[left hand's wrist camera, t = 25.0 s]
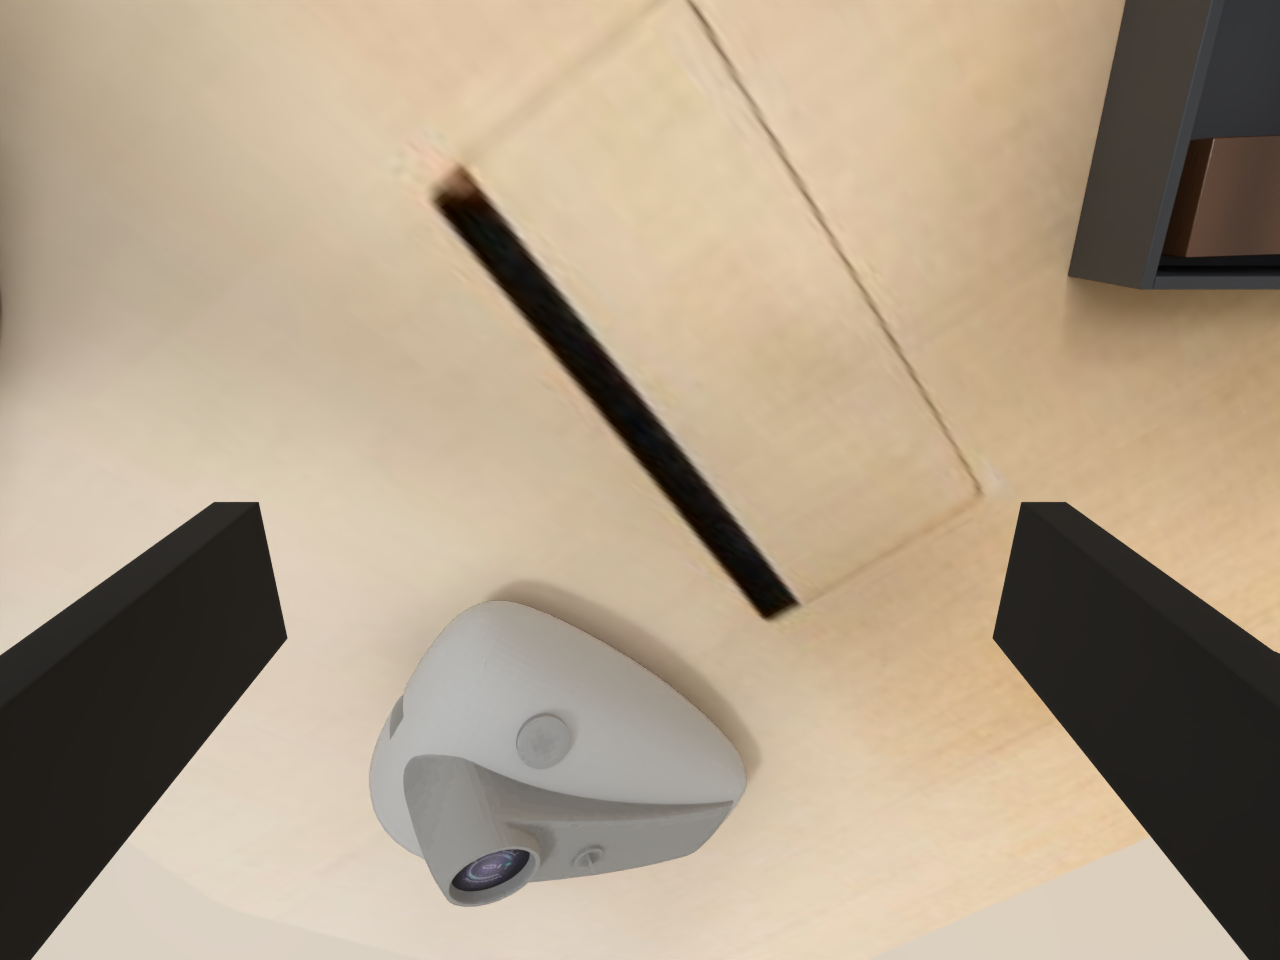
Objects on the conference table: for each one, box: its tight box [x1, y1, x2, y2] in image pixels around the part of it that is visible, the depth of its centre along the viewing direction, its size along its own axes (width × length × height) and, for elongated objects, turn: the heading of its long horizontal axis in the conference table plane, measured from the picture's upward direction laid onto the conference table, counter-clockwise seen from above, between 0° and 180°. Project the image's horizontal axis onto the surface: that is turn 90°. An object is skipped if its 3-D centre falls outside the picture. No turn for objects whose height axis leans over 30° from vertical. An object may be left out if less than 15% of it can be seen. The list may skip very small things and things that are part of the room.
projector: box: [369, 600, 747, 907], centre depth 42 cm, size 22×23×15 cm
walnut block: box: [1161, 135, 1280, 258], centre depth 34 cm, size 5×5×5 cm
